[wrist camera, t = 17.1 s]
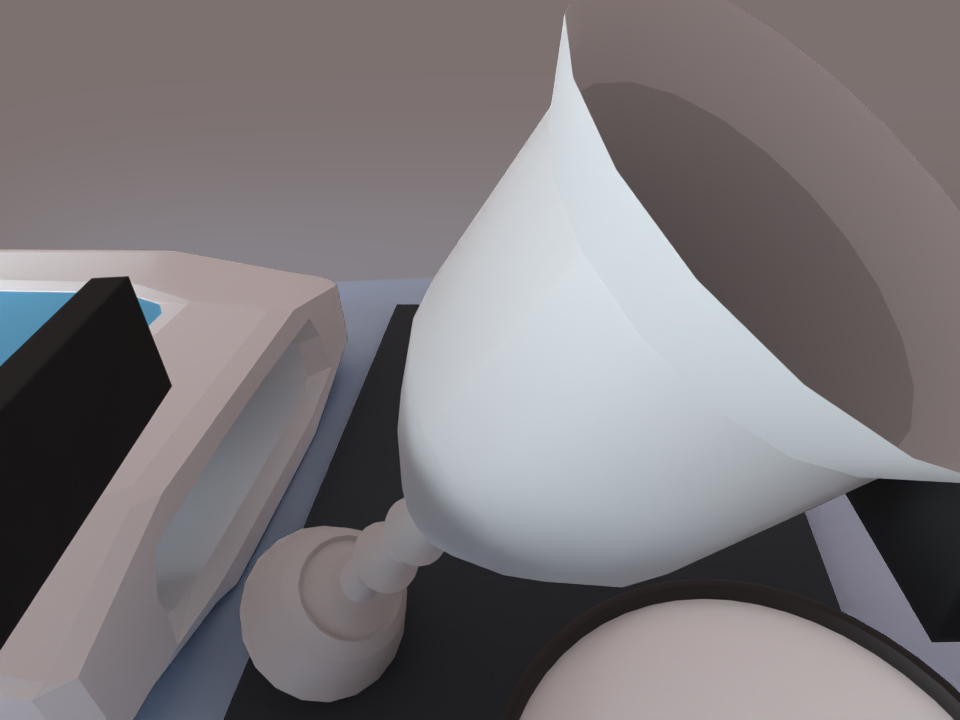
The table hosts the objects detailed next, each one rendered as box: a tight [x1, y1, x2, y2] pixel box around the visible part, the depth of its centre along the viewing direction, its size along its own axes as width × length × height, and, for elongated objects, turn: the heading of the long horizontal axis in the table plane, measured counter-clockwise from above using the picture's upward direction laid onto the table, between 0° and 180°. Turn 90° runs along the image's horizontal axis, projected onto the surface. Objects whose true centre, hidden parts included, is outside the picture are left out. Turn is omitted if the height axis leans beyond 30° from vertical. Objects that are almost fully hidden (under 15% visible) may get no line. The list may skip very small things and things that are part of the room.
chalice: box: [239, 0, 960, 702], centre depth 14 cm, size 7×7×18 cm
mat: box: [224, 305, 841, 720], centre depth 28 cm, size 18×24×1 cm
